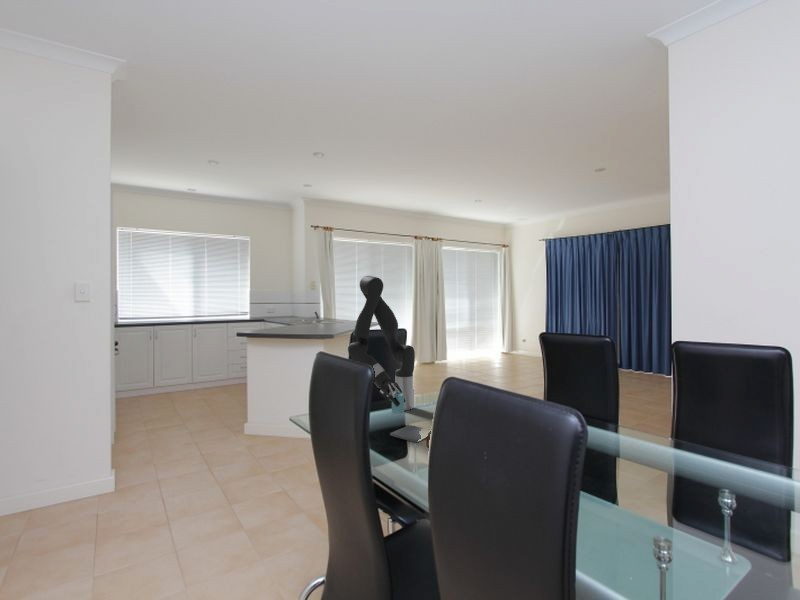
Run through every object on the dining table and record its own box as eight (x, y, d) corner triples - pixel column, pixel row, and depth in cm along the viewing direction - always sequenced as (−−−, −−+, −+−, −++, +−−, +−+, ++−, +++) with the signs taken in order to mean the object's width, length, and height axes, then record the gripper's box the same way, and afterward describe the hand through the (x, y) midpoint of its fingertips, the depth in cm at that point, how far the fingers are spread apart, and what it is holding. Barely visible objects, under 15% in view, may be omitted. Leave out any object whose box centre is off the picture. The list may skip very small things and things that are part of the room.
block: (397, 410, 193) (397, 393, 193) (404, 412, 191) (403, 394, 191) (391, 412, 190) (391, 395, 190) (398, 414, 188) (398, 396, 188)
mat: (409, 427, 186) (409, 425, 186) (436, 433, 177) (436, 431, 177) (390, 435, 175) (389, 433, 175) (416, 442, 166) (416, 440, 166)
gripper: (375, 373, 187) (399, 402, 182) (390, 367, 200) (413, 395, 194) (365, 383, 190) (388, 413, 185) (381, 377, 203) (403, 404, 197)
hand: (401, 403), depth 190 cm, fingers closed on block, 4 cm apart
